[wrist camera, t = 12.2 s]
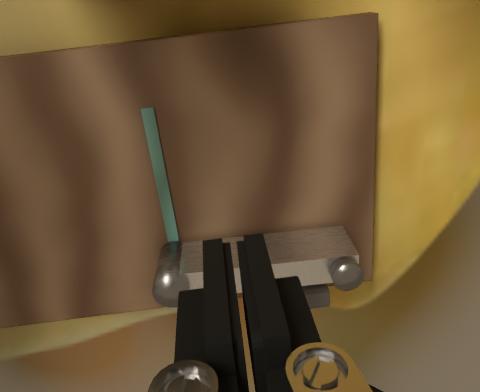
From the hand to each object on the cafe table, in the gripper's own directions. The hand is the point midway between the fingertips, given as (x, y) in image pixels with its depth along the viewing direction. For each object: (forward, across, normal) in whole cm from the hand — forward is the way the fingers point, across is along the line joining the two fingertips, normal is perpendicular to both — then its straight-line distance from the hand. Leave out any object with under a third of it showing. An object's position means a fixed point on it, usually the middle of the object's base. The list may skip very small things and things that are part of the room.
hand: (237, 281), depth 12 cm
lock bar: (+18, -2, +10) cm, 21 cm away
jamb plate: (+20, +4, +5) cm, 21 cm away
